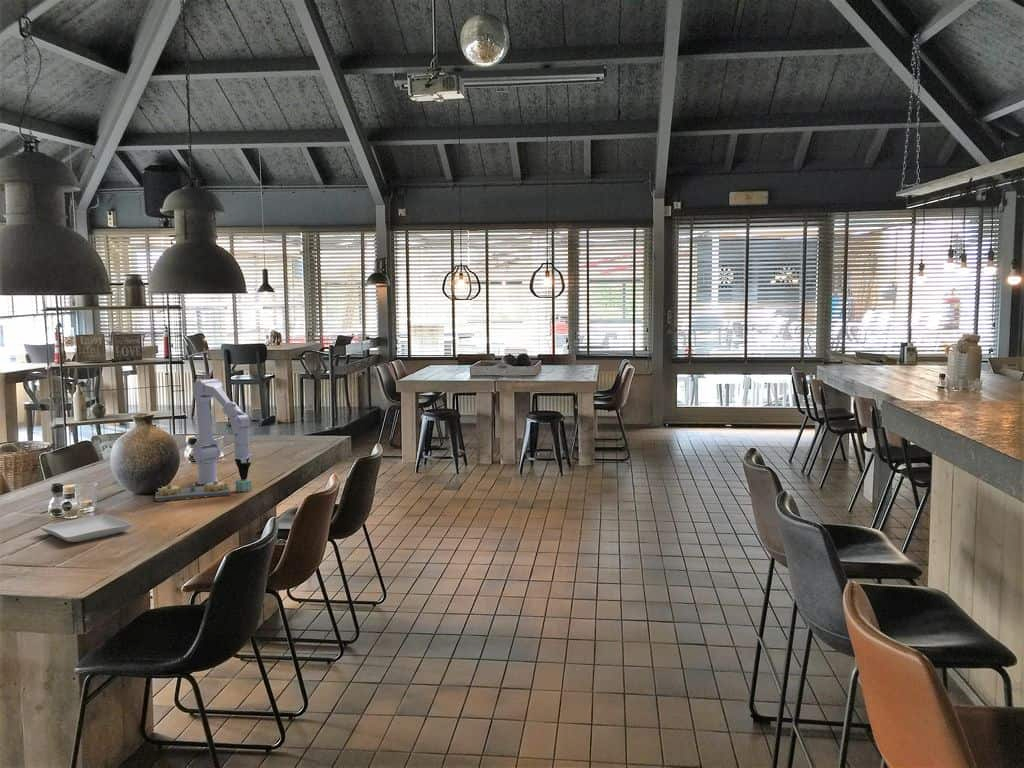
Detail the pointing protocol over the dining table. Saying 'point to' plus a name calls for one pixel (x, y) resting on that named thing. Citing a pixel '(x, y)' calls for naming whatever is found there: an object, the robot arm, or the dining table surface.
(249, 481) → the teal gear
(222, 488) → the gear board
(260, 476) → the dining table surface
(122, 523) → the salad plate
